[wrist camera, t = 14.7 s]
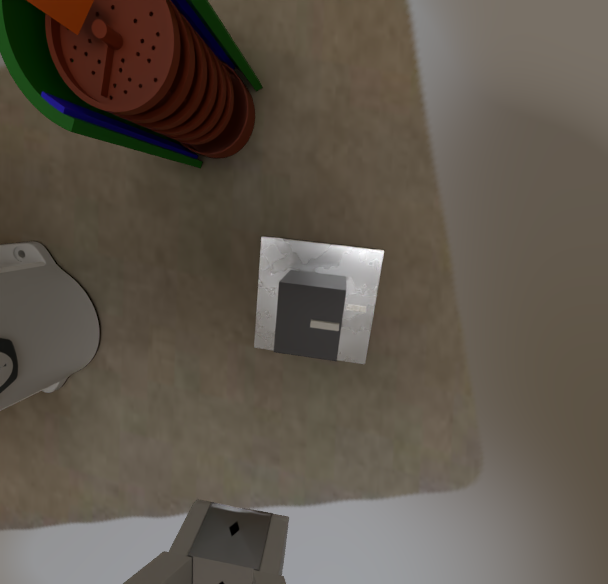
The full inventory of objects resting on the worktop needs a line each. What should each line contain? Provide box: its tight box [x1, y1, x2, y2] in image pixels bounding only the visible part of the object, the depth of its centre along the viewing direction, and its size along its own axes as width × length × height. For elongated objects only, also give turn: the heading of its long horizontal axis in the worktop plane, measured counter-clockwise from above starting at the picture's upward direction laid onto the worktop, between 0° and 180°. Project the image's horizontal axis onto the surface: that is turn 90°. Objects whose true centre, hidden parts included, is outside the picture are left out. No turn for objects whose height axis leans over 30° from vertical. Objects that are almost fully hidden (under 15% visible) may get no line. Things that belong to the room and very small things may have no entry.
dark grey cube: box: [274, 270, 346, 361], centre depth 29 cm, size 6×6×6 cm
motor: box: [0, 0, 263, 168], centre depth 20 cm, size 10×9×20 cm
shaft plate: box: [254, 236, 384, 364], centre depth 31 cm, size 12×12×4 cm
